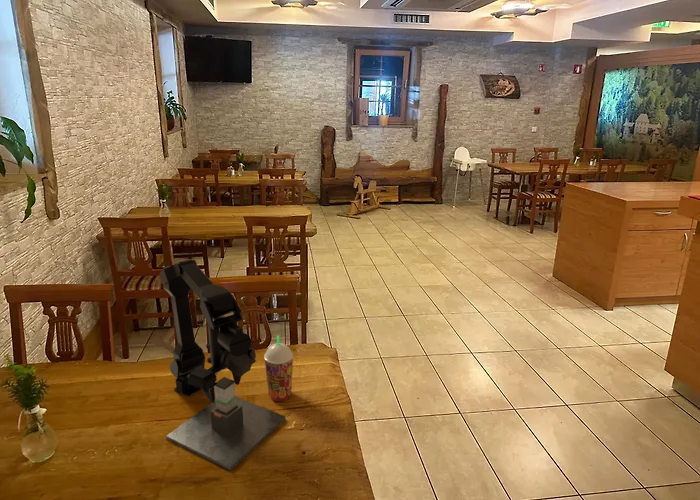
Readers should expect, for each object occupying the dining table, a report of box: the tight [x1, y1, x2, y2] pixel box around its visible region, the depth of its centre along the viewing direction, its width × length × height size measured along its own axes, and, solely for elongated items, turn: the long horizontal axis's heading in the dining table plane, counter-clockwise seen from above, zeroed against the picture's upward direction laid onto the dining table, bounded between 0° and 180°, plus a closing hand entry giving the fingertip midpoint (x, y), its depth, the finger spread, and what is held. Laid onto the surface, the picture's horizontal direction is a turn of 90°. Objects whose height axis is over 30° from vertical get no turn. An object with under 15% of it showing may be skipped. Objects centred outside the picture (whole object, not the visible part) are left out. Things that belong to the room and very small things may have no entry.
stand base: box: [165, 396, 287, 472], centre depth 128 cm, size 22×22×6 cm
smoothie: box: [263, 335, 294, 402], centre depth 140 cm, size 8×8×20 cm
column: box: [214, 376, 237, 416], centre depth 126 cm, size 4×4×9 cm
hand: (225, 393), depth 125 cm, fingers open, 9 cm apart
